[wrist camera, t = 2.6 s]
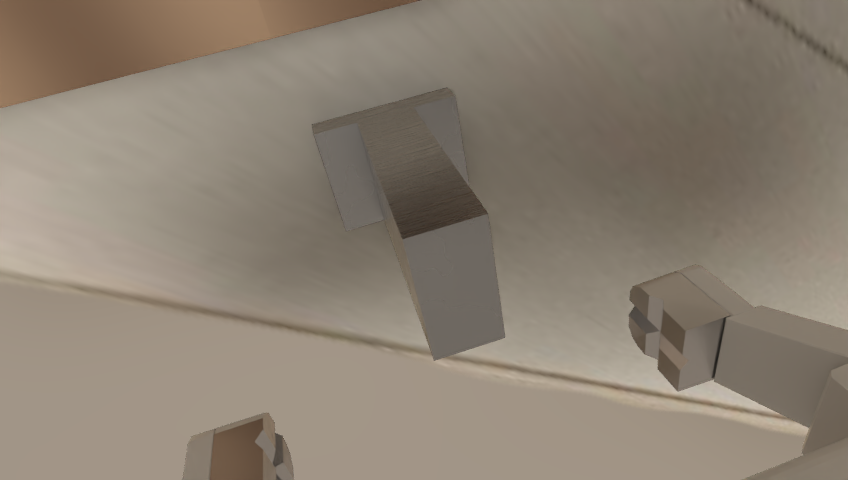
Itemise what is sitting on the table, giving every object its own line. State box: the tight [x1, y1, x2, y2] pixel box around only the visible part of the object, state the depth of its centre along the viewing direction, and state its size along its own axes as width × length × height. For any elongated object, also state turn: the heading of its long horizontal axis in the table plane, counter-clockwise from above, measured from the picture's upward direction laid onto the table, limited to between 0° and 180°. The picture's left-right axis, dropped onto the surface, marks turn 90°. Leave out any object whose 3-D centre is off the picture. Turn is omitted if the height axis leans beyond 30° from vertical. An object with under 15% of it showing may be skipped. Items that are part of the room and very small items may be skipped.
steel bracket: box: [312, 88, 505, 361], centre depth 16 cm, size 5×4×8 cm
